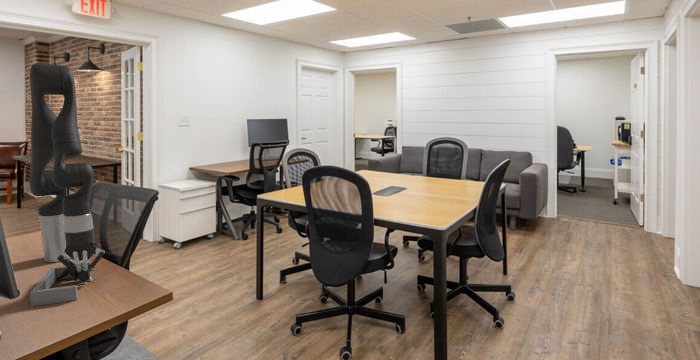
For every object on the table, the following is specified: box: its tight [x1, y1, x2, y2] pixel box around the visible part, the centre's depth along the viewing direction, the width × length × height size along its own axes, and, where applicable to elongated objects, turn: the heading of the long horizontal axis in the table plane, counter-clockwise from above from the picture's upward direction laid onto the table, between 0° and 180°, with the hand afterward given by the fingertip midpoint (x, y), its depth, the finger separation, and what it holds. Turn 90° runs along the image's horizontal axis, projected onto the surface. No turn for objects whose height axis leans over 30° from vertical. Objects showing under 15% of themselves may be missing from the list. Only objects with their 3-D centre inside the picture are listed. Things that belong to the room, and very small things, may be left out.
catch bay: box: [29, 262, 92, 307], centre depth 130 cm, size 21×11×4 cm, turn 22°
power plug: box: [55, 262, 93, 285], centre depth 136 cm, size 6×8×12 cm
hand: (84, 281), depth 132 cm, fingers closed
